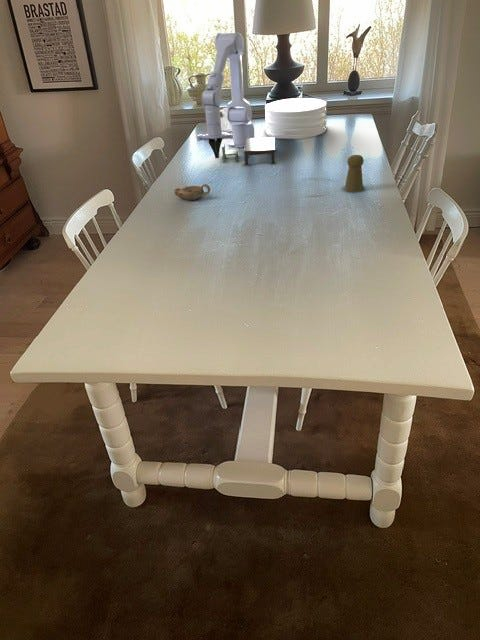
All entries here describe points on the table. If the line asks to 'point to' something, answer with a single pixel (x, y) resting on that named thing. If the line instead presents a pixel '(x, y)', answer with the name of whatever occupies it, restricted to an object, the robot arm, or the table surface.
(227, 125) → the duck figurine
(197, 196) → the oil lamp
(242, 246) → the table surface
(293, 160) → the table surface
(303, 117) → the plate stack
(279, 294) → the table surface
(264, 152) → the desk
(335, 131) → the table surface
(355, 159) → the cork
